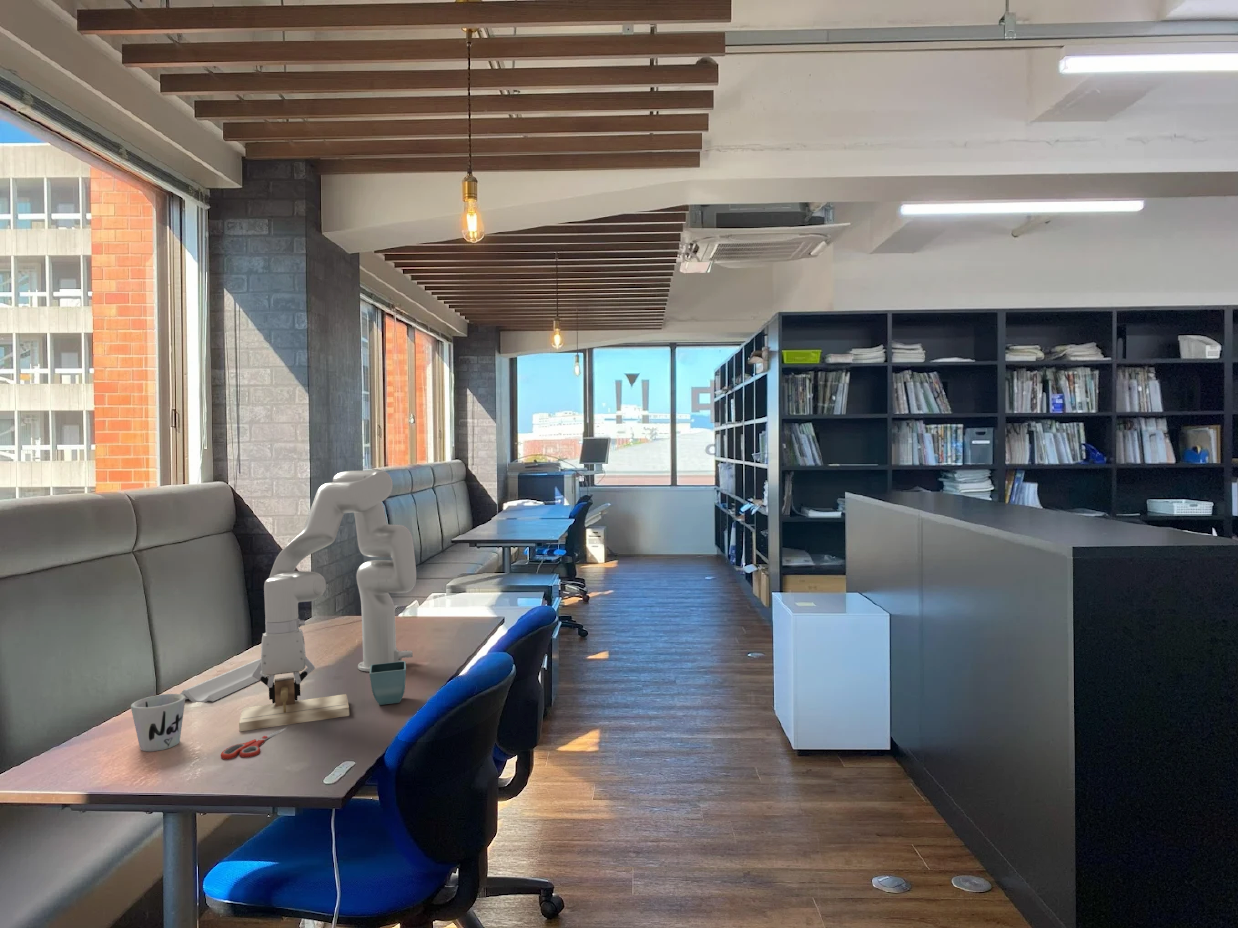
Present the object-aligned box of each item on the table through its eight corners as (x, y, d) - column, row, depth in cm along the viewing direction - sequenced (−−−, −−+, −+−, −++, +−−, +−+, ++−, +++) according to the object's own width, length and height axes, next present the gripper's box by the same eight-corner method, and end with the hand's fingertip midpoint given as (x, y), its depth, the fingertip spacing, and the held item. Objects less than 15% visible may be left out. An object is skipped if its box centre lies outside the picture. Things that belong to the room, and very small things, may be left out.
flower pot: (370, 709, 196) (369, 672, 196) (371, 698, 205) (370, 664, 205) (407, 704, 199) (406, 669, 198) (407, 694, 207) (405, 660, 207)
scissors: (295, 726, 186) (295, 720, 186) (252, 760, 165) (252, 753, 165) (263, 727, 187) (262, 721, 186) (216, 761, 166) (215, 754, 166)
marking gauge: (295, 704, 200) (293, 675, 199) (295, 720, 188) (293, 688, 188) (276, 707, 198) (274, 677, 198) (274, 723, 186) (273, 691, 186)
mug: (148, 757, 168) (146, 710, 168) (112, 745, 176) (110, 700, 176) (196, 741, 177) (195, 697, 177) (160, 731, 185) (158, 688, 185)
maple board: (346, 701, 203) (346, 693, 203) (349, 715, 191) (348, 707, 191) (242, 715, 194) (242, 707, 194) (239, 731, 183) (238, 722, 183)
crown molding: (213, 704, 206) (212, 690, 206) (172, 703, 208) (171, 690, 208) (284, 671, 237) (284, 659, 237) (248, 670, 239) (247, 658, 239)
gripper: (318, 620, 202) (321, 691, 203) (245, 627, 196) (248, 701, 196) (319, 625, 196) (321, 699, 196) (243, 633, 189) (246, 710, 189)
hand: (285, 699), depth 196 cm, fingers closed on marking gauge, 4 cm apart
